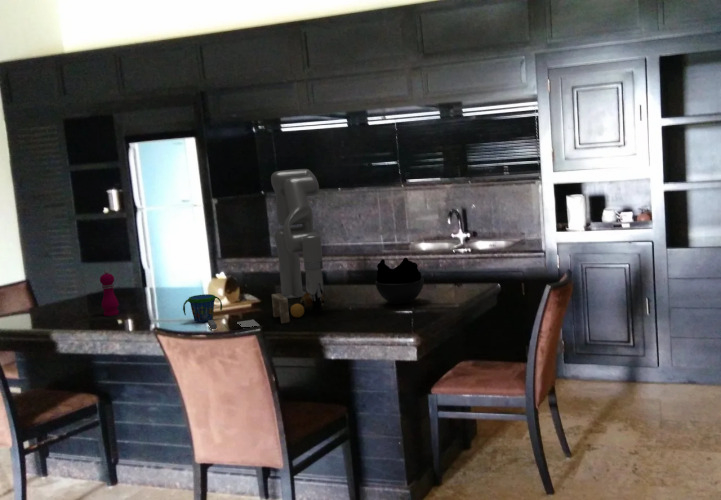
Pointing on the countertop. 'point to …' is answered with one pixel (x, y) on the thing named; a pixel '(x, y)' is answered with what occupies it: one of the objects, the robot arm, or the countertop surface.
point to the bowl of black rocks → (399, 282)
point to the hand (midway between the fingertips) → (317, 310)
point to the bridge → (280, 307)
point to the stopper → (212, 324)
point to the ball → (297, 310)
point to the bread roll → (310, 300)
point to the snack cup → (202, 307)
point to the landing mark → (248, 323)
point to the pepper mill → (109, 295)
